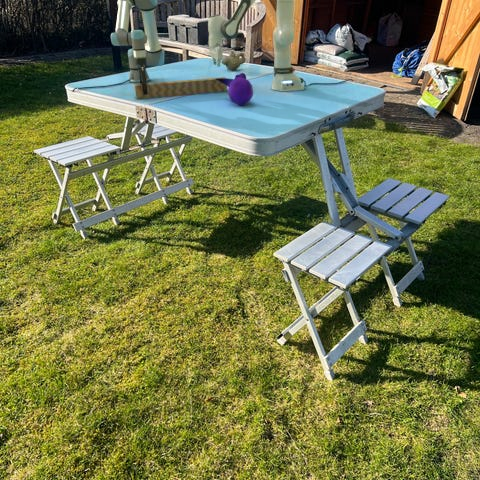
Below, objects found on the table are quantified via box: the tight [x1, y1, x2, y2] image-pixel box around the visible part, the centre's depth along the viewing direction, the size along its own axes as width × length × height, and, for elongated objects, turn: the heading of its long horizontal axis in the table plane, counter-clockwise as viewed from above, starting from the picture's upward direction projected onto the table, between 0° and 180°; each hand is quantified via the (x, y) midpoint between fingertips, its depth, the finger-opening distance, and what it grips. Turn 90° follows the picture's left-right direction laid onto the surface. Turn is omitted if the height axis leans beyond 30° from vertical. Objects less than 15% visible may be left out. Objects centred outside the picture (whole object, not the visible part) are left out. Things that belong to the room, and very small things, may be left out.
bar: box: [133, 76, 228, 100], centre depth 296 cm, size 61×6×8 cm, turn 107°
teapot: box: [221, 50, 246, 71], centre depth 368 cm, size 21×12×15 cm, turn 120°
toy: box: [215, 72, 254, 106], centre depth 272 cm, size 16×18×27 cm
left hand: (144, 92), depth 290 cm, fingers open, 13 cm apart
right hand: (216, 65), depth 296 cm, fingers open, 8 cm apart
